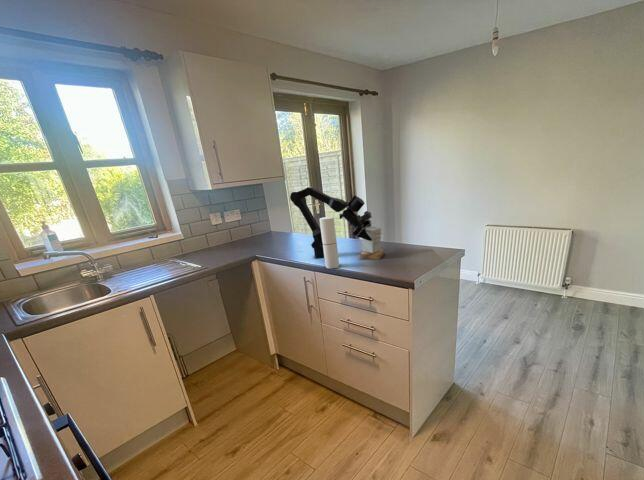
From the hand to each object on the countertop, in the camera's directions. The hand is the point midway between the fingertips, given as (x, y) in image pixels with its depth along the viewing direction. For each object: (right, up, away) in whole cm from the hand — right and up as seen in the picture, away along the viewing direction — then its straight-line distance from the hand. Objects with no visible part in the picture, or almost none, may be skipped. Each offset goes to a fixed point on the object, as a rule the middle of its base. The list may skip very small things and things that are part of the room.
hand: (373, 238), depth 169 cm
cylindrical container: (-22, -16, -6) cm, 28 cm away
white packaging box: (-1, -6, +3) cm, 7 cm away
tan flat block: (0, -9, +4) cm, 10 cm away
